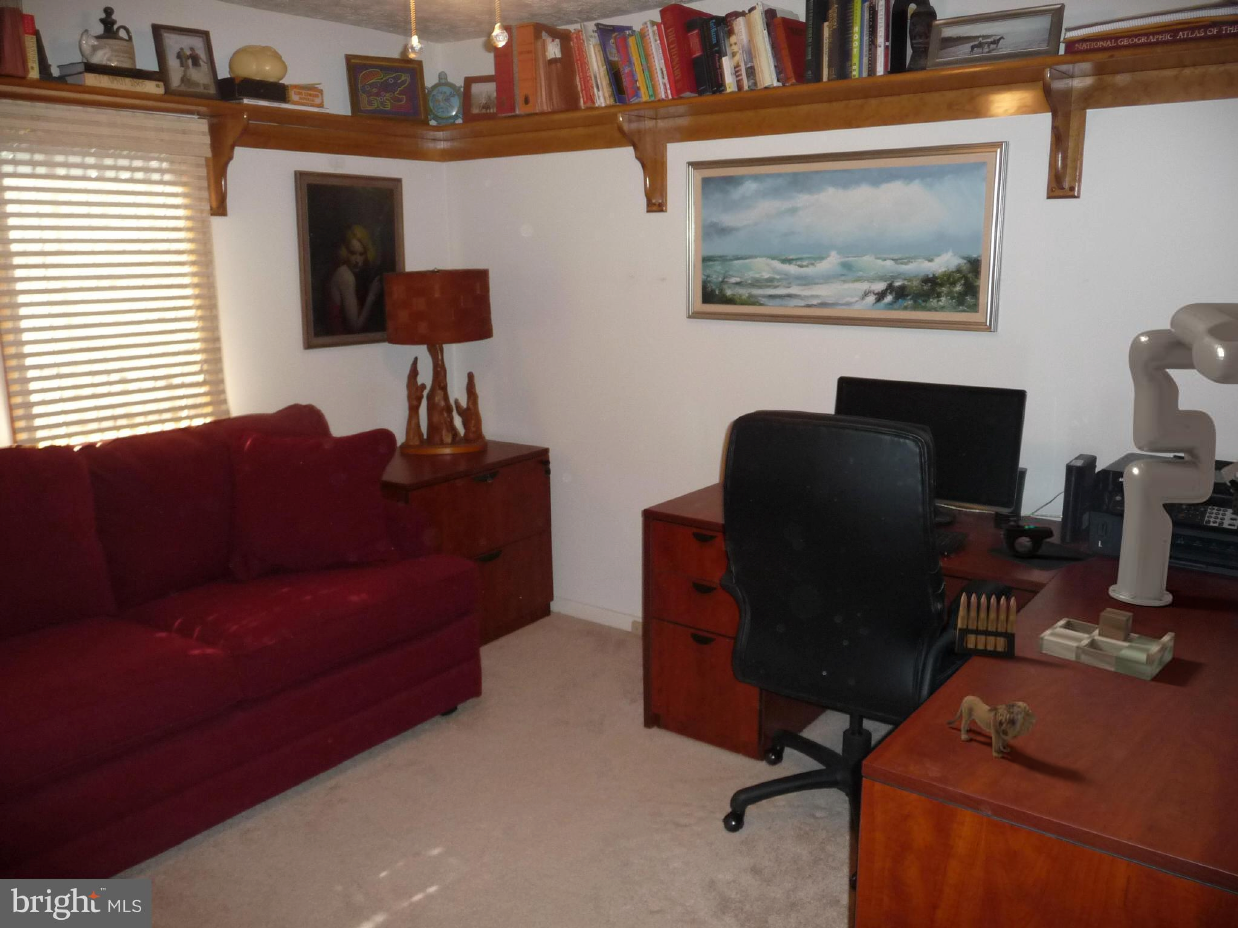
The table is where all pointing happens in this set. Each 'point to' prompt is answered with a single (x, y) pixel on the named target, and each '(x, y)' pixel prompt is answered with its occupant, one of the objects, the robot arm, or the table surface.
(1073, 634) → the divided compartment tray
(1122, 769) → the table surface
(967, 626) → the ammunition clip
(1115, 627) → the walnut block
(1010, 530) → the controller
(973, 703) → the lion figurine
